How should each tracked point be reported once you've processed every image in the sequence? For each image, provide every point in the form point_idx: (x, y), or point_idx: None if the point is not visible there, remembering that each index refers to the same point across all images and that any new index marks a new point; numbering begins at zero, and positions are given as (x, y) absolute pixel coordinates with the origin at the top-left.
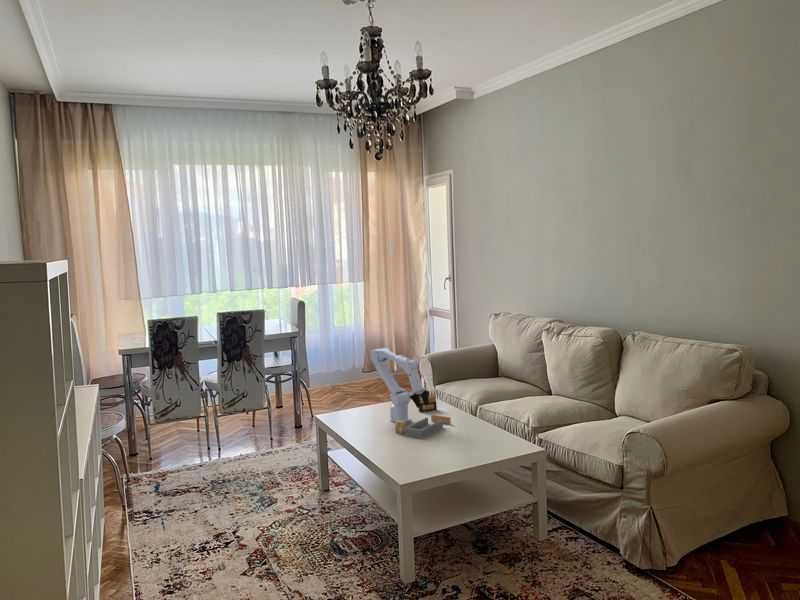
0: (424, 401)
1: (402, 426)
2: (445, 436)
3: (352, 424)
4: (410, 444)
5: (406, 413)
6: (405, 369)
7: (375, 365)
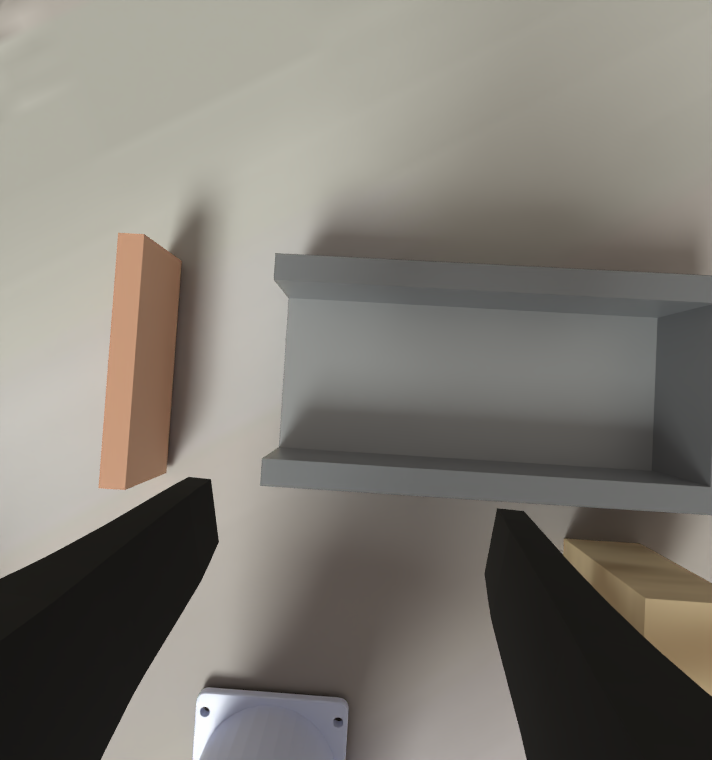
0: (160, 615)
1: (678, 576)
2: (518, 135)
3: None
4: None
5: None
6: None
7: None
